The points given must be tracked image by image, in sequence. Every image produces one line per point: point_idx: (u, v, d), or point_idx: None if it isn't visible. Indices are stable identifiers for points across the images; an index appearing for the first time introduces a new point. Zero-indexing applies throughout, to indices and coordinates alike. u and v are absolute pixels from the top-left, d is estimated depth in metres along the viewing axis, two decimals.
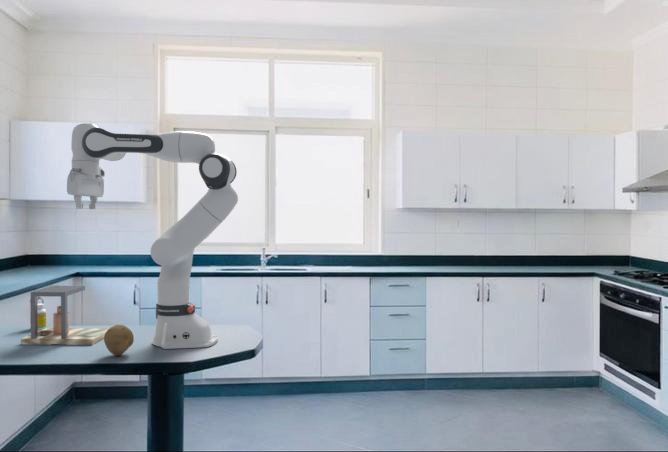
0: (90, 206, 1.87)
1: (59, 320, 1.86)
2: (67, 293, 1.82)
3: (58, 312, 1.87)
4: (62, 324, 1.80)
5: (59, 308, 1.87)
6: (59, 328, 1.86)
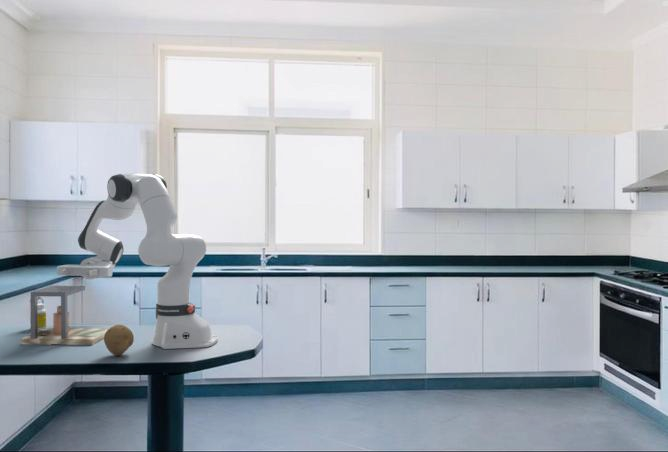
0: None
1: (59, 320, 1.86)
2: (67, 293, 1.82)
3: (58, 312, 1.87)
4: (62, 324, 1.80)
5: (59, 308, 1.87)
6: (59, 328, 1.86)
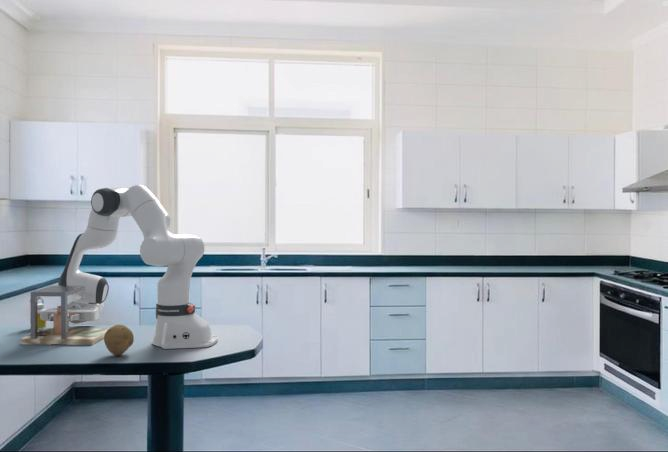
0: None
1: (59, 320, 1.86)
2: (67, 293, 1.82)
3: (58, 312, 1.87)
4: (62, 324, 1.80)
5: (59, 308, 1.87)
6: (59, 328, 1.86)
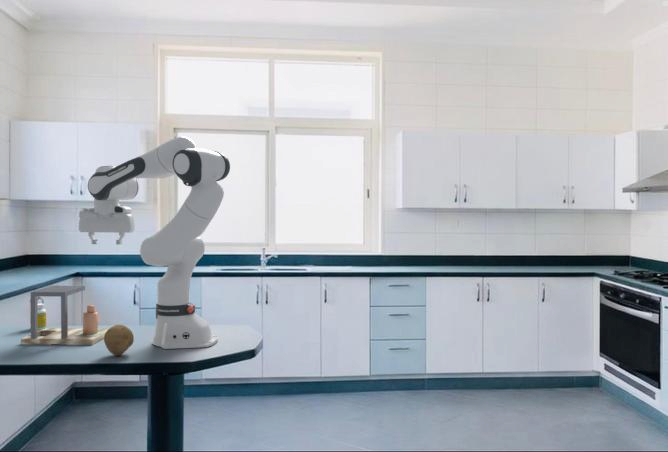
0: None
1: (88, 319, 1.86)
2: (67, 293, 1.82)
3: (88, 311, 1.87)
4: (62, 324, 1.80)
5: (89, 307, 1.87)
6: (88, 327, 1.86)
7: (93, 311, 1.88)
